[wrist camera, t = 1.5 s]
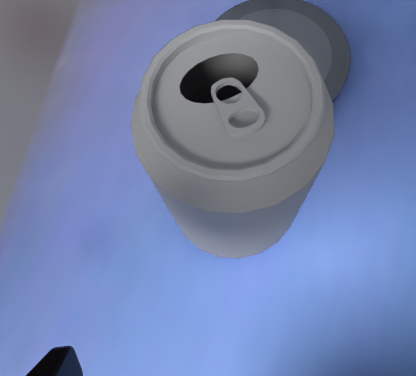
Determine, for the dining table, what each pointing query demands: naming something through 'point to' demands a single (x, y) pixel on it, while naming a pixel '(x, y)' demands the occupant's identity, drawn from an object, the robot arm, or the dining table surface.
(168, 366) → the dining table surface
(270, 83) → the can
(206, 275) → the dining table surface
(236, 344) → the dining table surface
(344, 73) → the dish
